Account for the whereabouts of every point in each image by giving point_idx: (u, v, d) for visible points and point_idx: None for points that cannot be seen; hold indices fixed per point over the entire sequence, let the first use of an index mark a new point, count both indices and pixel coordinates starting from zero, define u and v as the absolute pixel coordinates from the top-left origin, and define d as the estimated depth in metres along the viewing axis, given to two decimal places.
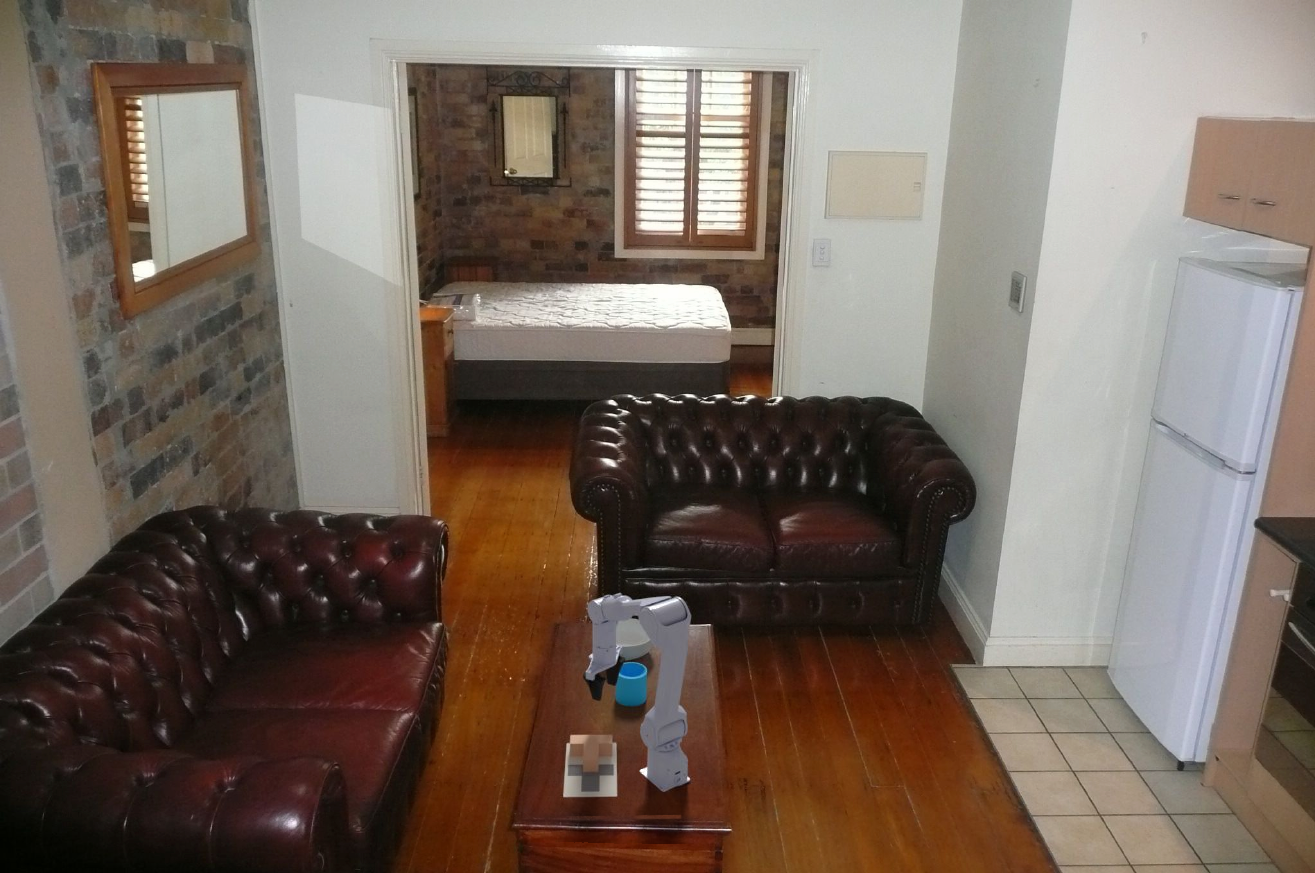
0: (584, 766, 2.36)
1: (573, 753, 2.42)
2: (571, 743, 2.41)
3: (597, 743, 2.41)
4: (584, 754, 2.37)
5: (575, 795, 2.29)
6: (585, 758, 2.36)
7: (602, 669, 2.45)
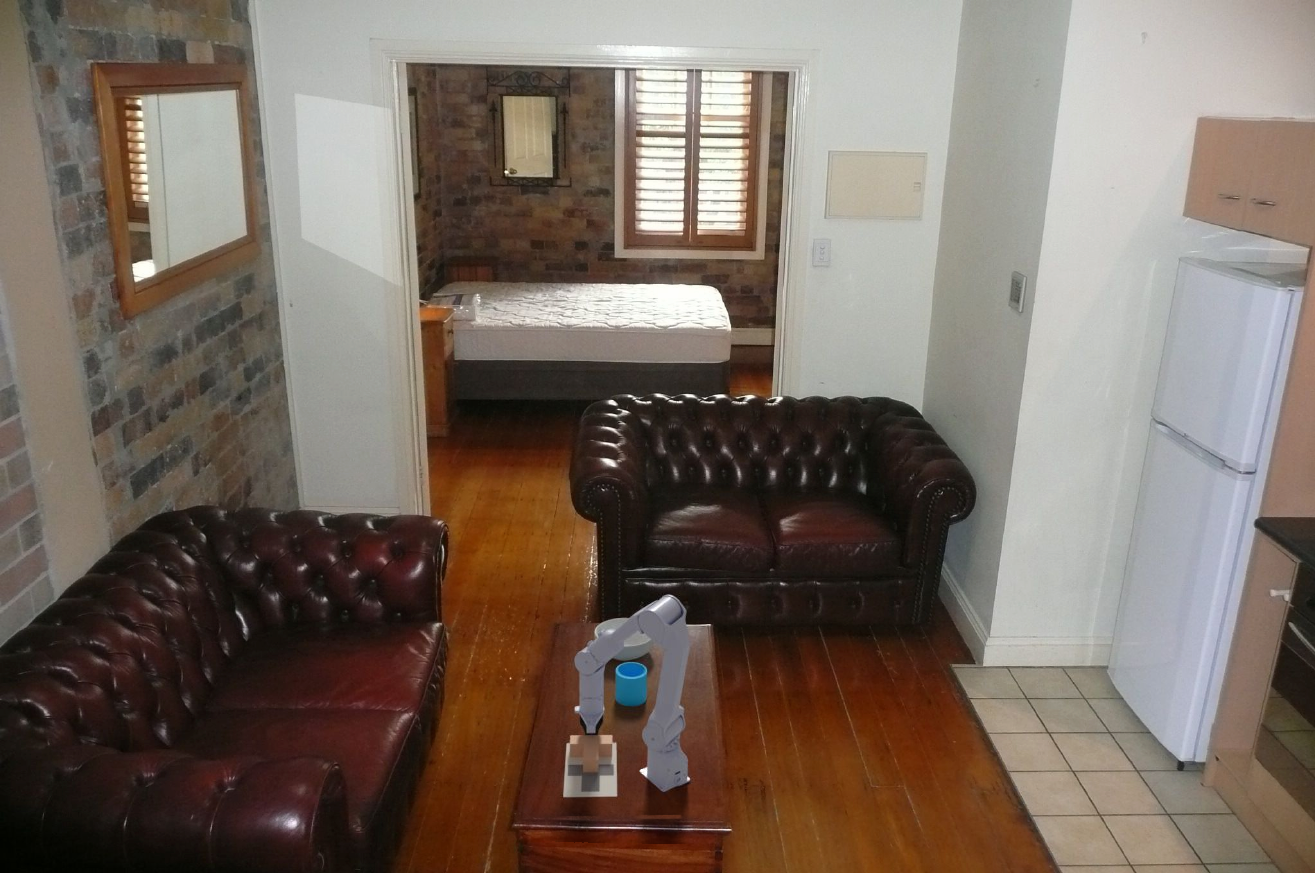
0: (584, 766, 2.36)
1: (573, 753, 2.42)
2: (571, 743, 2.41)
3: (597, 743, 2.41)
4: (584, 754, 2.37)
5: (575, 795, 2.29)
6: (585, 758, 2.36)
7: (598, 719, 2.40)
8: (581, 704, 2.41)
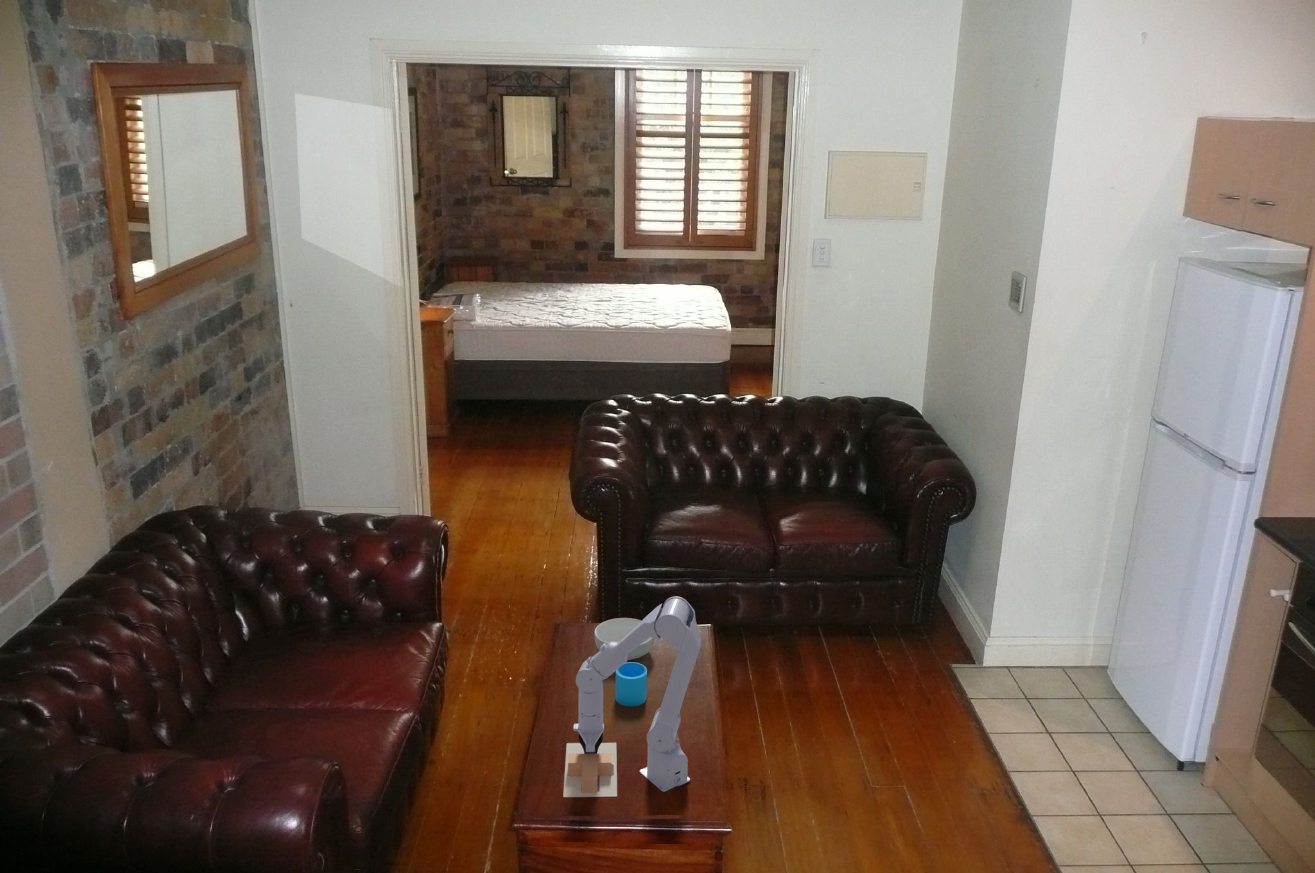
0: (582, 786, 2.29)
1: (571, 773, 2.35)
2: (569, 762, 2.34)
3: (596, 762, 2.34)
4: (582, 774, 2.30)
5: (575, 795, 2.29)
6: (583, 778, 2.29)
7: (598, 737, 2.33)
8: (580, 722, 2.35)
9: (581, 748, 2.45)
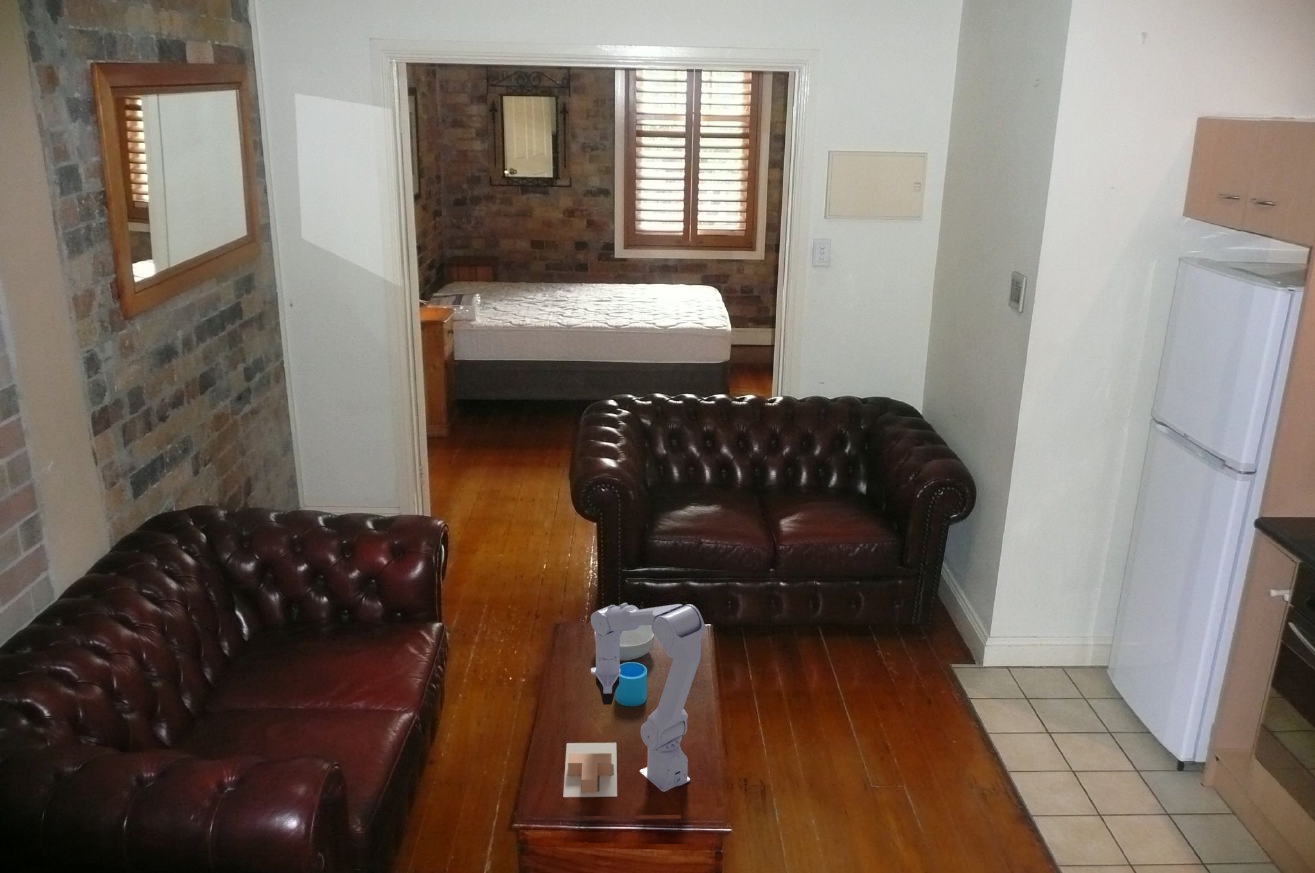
0: (582, 786, 2.29)
1: (571, 773, 2.35)
2: (569, 762, 2.34)
3: (596, 762, 2.34)
4: (582, 774, 2.30)
5: (575, 795, 2.29)
6: (583, 778, 2.29)
7: (615, 680, 2.42)
8: (597, 665, 2.43)
9: (581, 748, 2.45)
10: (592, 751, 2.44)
